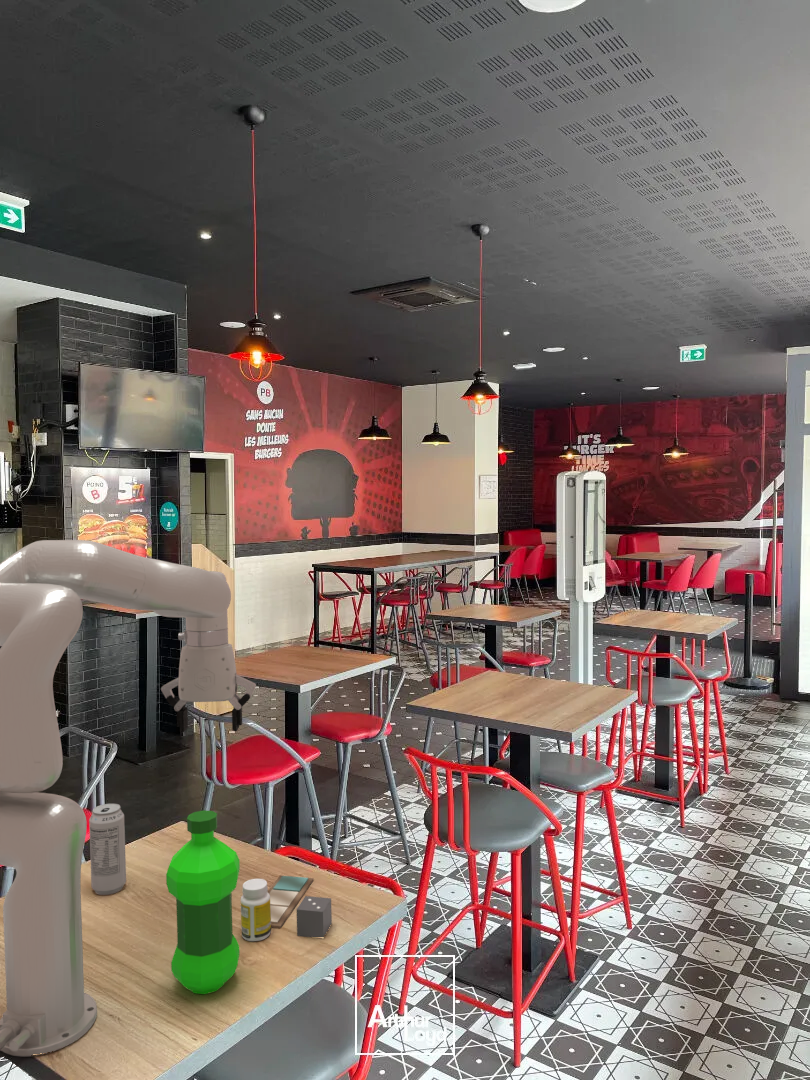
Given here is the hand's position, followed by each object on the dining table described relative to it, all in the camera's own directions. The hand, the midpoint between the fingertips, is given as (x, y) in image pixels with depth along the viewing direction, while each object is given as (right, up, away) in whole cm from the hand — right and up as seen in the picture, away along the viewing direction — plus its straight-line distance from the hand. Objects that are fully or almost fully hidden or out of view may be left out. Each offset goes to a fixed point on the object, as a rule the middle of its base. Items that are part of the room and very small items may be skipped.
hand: (210, 729), depth 148 cm
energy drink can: (-18, -29, -1) cm, 35 cm away
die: (+21, -29, -17) cm, 40 cm away
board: (+14, -29, -7) cm, 33 cm away
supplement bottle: (+12, -30, -18) cm, 36 cm away
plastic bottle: (+7, -30, -31) cm, 44 cm away
